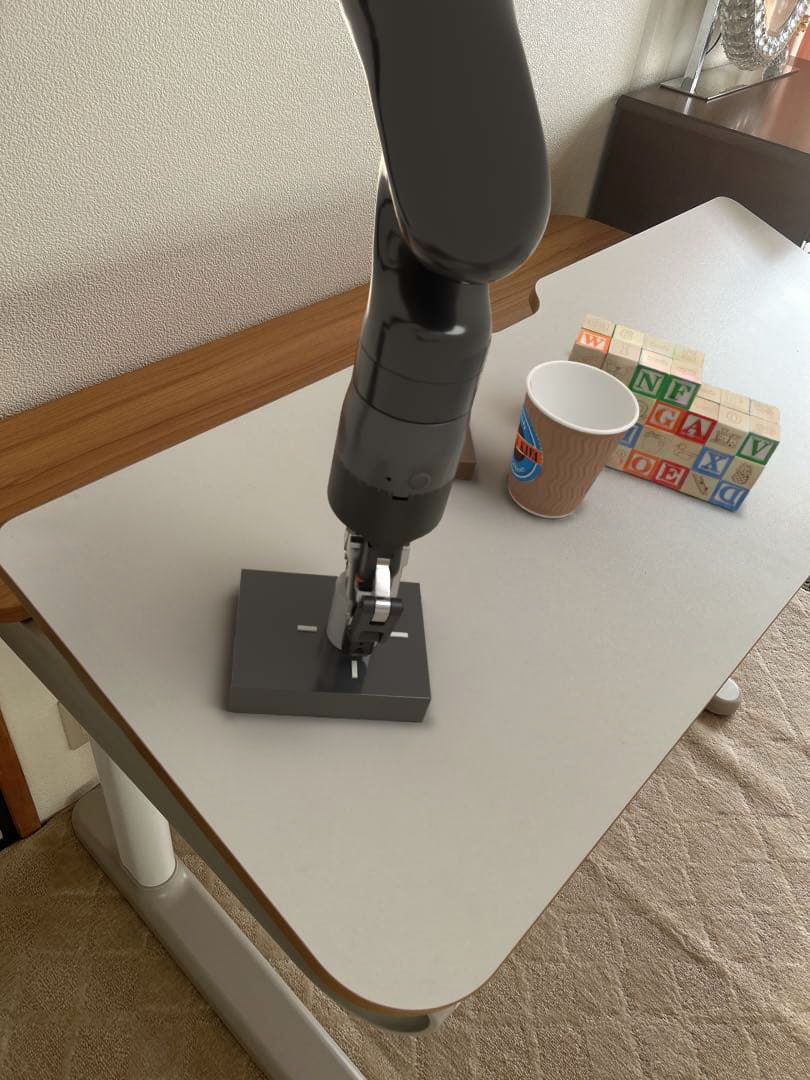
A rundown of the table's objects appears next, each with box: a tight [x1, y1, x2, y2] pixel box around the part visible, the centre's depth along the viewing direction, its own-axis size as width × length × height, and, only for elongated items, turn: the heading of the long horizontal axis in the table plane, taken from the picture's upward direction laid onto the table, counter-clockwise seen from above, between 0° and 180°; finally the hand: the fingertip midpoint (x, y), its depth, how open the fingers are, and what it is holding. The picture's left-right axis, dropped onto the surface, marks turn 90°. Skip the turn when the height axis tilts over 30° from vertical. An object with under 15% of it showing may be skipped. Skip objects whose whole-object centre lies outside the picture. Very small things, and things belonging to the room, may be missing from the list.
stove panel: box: [228, 568, 432, 723], centre depth 66 cm, size 14×11×3 cm
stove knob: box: [326, 569, 378, 650], centre depth 64 cm, size 4×4×5 cm
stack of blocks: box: [567, 313, 781, 512], centre depth 88 cm, size 21×6×12 cm, turn 71°
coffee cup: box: [508, 360, 639, 519], centre depth 81 cm, size 10×10×12 cm
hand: (354, 625), depth 65 cm, fingers closed on stove knob, 4 cm apart
